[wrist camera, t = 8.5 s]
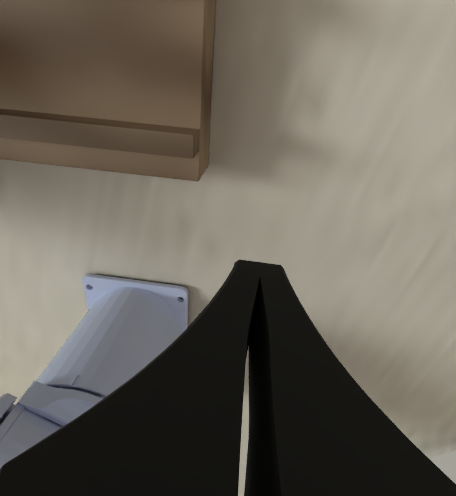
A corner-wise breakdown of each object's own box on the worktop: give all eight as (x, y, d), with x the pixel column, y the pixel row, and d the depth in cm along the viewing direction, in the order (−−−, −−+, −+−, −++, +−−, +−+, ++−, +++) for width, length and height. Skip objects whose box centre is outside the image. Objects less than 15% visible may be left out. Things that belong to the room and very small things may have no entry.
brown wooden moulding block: (208, 165, 18) (192, 191, 14) (-77, 134, 19) (-165, 149, 15) (219, -69, 13) (198, -128, 9) (-170, -95, 14) (-338, -159, 10)
